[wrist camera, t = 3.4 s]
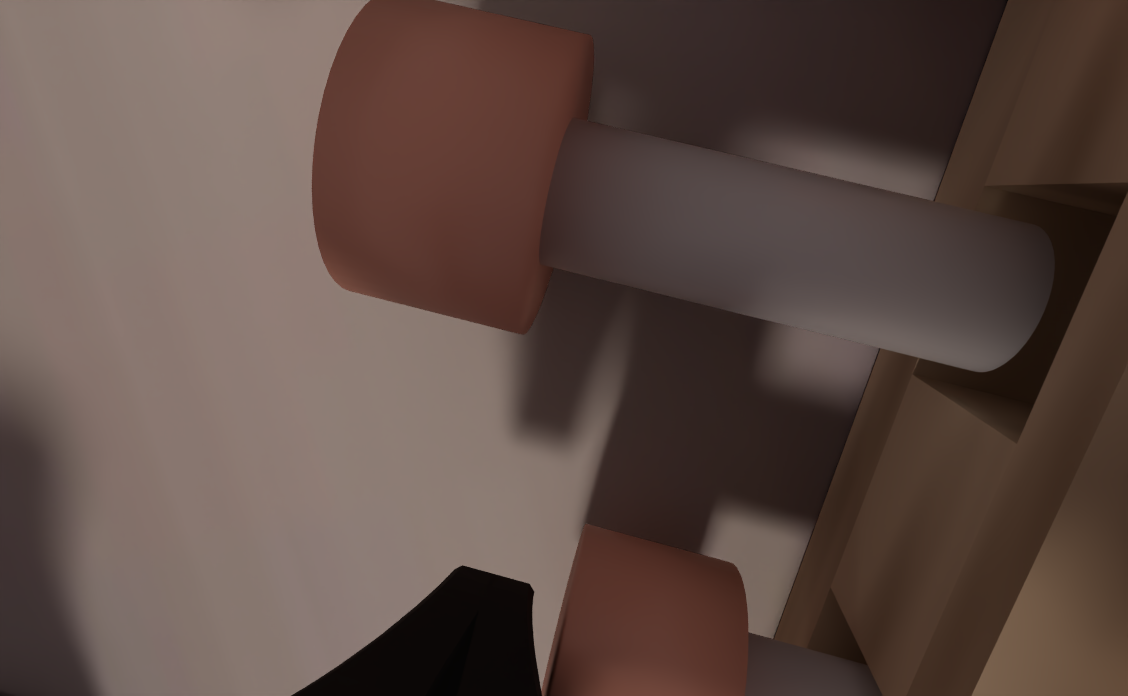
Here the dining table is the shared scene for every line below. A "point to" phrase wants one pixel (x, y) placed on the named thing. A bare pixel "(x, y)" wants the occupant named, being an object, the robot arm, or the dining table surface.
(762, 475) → the dining table surface
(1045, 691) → the mount
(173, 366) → the dining table surface
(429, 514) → the dining table surface
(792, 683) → the knob
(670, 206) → the knob
